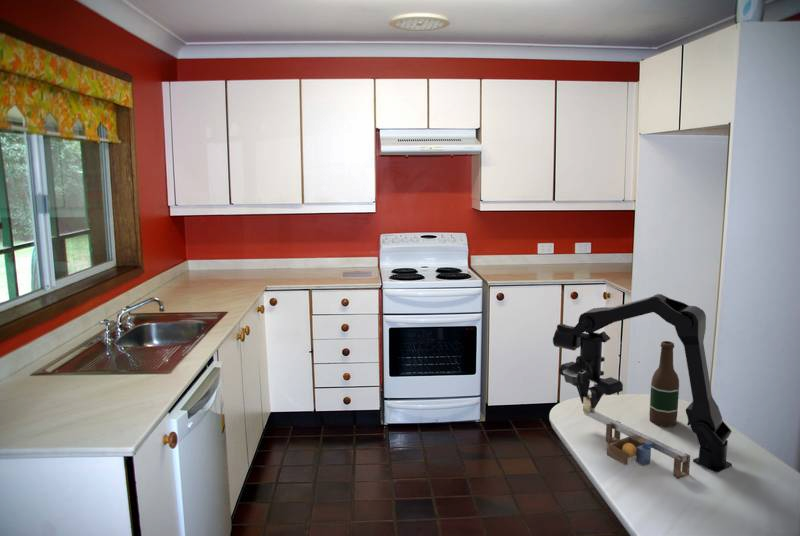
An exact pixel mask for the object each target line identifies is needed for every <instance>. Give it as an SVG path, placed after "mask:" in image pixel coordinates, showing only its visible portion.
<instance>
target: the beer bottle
mask: <svg viewBox="0 0 800 536" xmlns="http://www.w3.org/2000/svg"><path fill="white" fill-rule="evenodd" d="M659 346H660V349H661V350H660V356H659V365H658V367H657V369H656V370H655V371H654V373H653V375H652V378H651V383H650V397H649V422H651V423H652V424H654V425H655V426H660V427H666V428H670V427H674V426H676V425H677V422H678V421H677V420H678V419H677V418H678V411H679V410H678V409H679V393H680V378H679V375H678V374H677V372H676V371H675V366H674V348H675V343H674V342H672V341H668V340H663V341H661V343H660V345H659Z"/></svg>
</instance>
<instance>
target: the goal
mask: <svg viewBox="0 0 800 536" xmlns="http://www.w3.org/2000/svg"><path fill="white" fill-rule="evenodd" d="M626 443H631V444H633V445H634V446H635V447H638V446H641V445H642V443H641V442H639V441H637V440H635V439H633V438H631V437H629V436H627V437H624V438H620V440H617V441H615V442H612V443H608V444H607V445H606V446H607V447H606V449H607V450H606V456H608V457H610V458H611V459H613V460H615V461H617V462H619V463H620V464H622V465H625V466H627V465H629V464H628V461H629V460H628V459H629V457H628V453H626V452H624V451H622V447H623V445H624V444H626Z"/></svg>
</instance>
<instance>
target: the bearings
mask: <svg viewBox="0 0 800 536" xmlns="http://www.w3.org/2000/svg"><path fill="white" fill-rule="evenodd" d="M616 421H617V422H619V423H621V424H622V422H621V421H619V420H616ZM605 427H606V428H605V431H606V432H605V442H606V443H608V444H610V443H613V442H615V441H618V440H621V432H619V431H617V430H615V429H613V425H611V424H609V423H608V424H606V425H605ZM613 430H614V431H613ZM613 433H614V434H613ZM683 453H684V454H686V455H687V461H685V462H683V463H682V459H681V458H679V457H674V458H673V473H672V474H673V475H672V477H674V478H676V479H678V480H680V479H682V478H684V477H685V476H688V475H690V463H691V455H690V454H688V453H686V452H683Z"/></svg>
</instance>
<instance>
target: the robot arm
mask: <svg viewBox="0 0 800 536" xmlns="http://www.w3.org/2000/svg"><path fill="white" fill-rule="evenodd" d="M652 313H654V314H656V315H658V316H659V317H660V318H661V319H662V320H663V321H665V322H666V323H668V324H670V325H672V326H674V329H675V331H676V334H677V337H678V338H679V340H680V342H681V343H682V345H683V348H684V353H685V354H684V355H685V359H686V360H685V361H686V367H687V371H688V377H689V378H688V379H689V384H690V389H691V396H692V397H691V398H692V401H691V403H690V404H689V405H688V406H687V408H685V414H686V416H687V417H686V418H687V423H686V424H687V426H689V427H690V429H691V431H692V433H693V434H695V435H696V439H697V442H698V445H699V449H698V456H697V457H695V458H694V459H692V460H693V463H695V464H697V465H699V466H701V467H704V468H706V469H707V470H710V471H711V472H713V473H720V472H722V471H723V470H726V469H728V468H731V467H732V466H733V464H732V463H731V462H729V461H727V455H728V445H729V444H728V443H729V440H728V439H729V438H730V436H731V434H732V430H731V428H730V427H729V426H728V425H727V424H726V423H725V421H723V417H722V413H721V411H720V408H719V406H718V404H717V403H716V401H715V399H714V398H713V393H712V388H711V382H710V376H709V369H708V364H707V358H706V351H705V345H704V342H705V341H704V339H705V334H706V328H707V326H706V323H707V322H706V321H707V315H706V312H705V311H704V310H703V309H702V308H700V307H698V306H695V305H688V304H686V303H685V302H682V301H679V300H675V299H673V298H670V297H667V296H666V295H664V294H660V293H656V294H654V295H652V296H648V297H645V298H643V299H639V300H635V301H631V302H627V303H624V304H620V305H616V306H612V307H611V306H610V307H605V306H604V307H594V308H591V309H589V310H588V311H585V312H583V313H581V314H580V315H579V317H578V323H577V324H576V325H575V326H573V325H568V324H565V323H559V324H557V325H556V329H555V331H554V334H553V337H552V343H553V346H554V347H556V348H561V349H565V350H570V351H577V350H578V349H579V348H580V349H579V350H580V351H579V355H578V356H576V359H575V362H574V361H570V362H569V361H568V362H565V363H562V364H561V365H560V366H559V368H558V369H559V370H558V371H559V372H558V374H559V375H561V376H563V377H564V381H565V383H566V384H567V383H568V384H569V385H570V384H571V385H572V386H574V387H576V389H577V392H578V396H579V398H580V399H579V400H580V401H581V404H582V405H583V396H584V395H586V394H589V391H590V394H591V407H592V408H595V409H596V407H597V405H598V404H599V402H600V400H601V399H602V397H603V396H604V395H606V396H611V395H614V394H617V393H620V392H623V389H624V388H623V387H624V386H623V385H624V384H623V382H622V381H621V380H619V379H616V378H614V377H612V376H610V377H606V378H601V377H602V376H604V374H605V371H603V370H602V363H603V362H605V360H606V359H605V357H604V356H602V353H603V343H604V344H605V343H606V342H608V341H610V340H611V337H610V336H609V335H608V334H607V333H606V331H602V332H597V331H599V330H601V329H603V328H605V327H607V326H609V325H612V324H613V323H616V322H621V321H624V320H625V321H626V320H627V319H628V320H629V319H631V318H632V319H633V318H636V317H640V316H642V315H643V316H644V315H647V314H652ZM590 383H593V385H592V386H591V387H590V385H591V384H590Z"/></svg>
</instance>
